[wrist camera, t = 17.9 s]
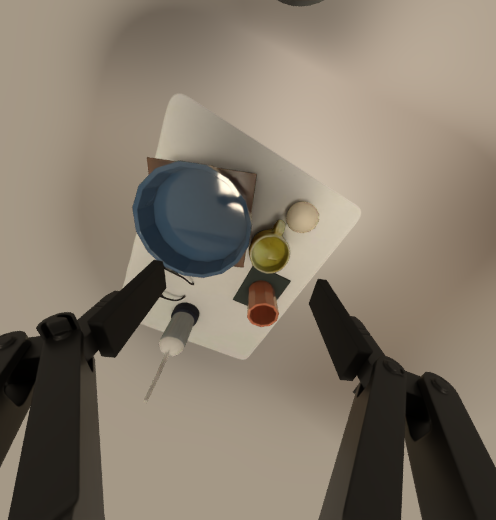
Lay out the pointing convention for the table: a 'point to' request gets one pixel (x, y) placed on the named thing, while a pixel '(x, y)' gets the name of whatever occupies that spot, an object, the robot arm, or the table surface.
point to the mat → (256, 275)
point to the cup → (262, 304)
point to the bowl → (192, 218)
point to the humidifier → (175, 335)
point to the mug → (270, 249)
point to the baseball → (302, 217)
